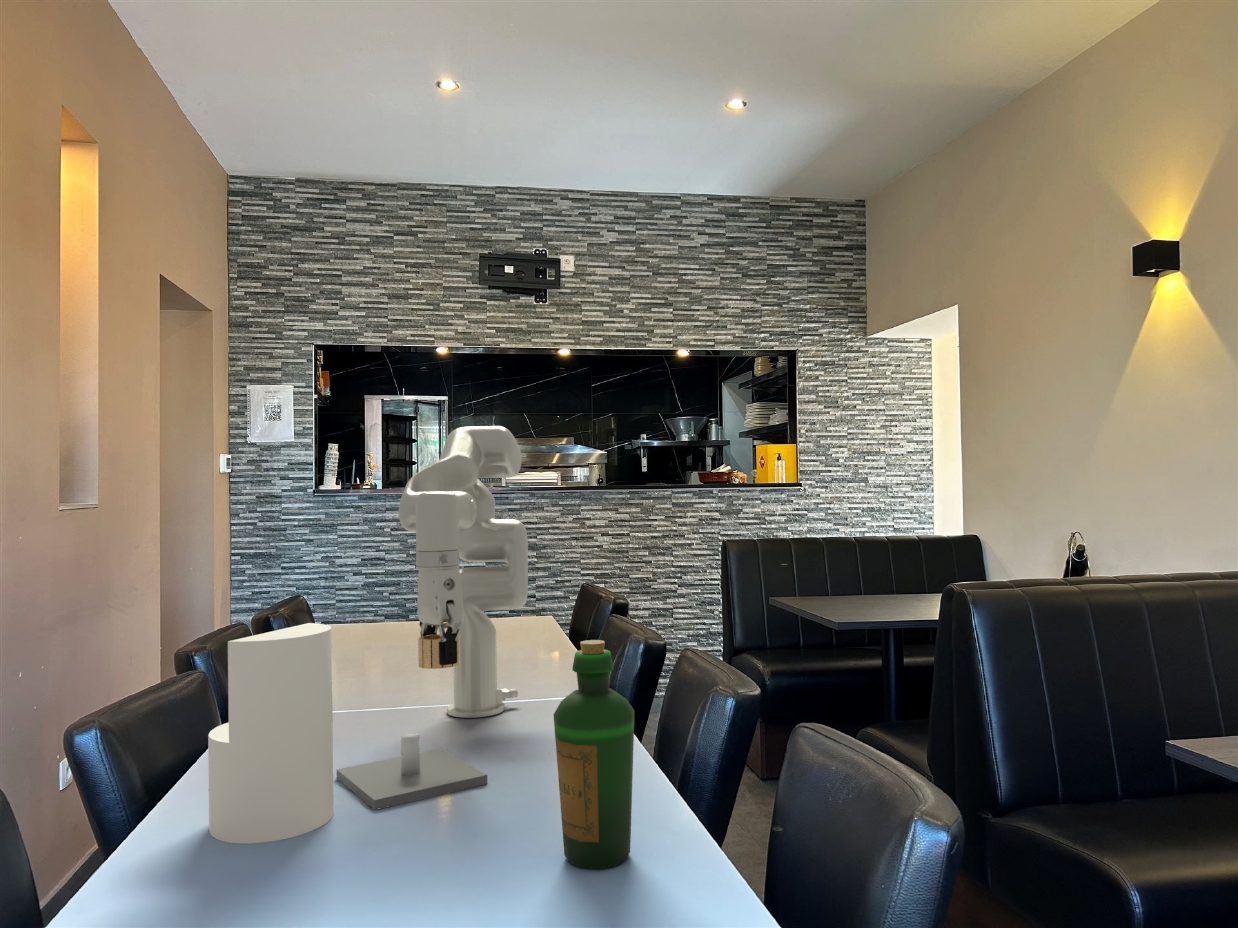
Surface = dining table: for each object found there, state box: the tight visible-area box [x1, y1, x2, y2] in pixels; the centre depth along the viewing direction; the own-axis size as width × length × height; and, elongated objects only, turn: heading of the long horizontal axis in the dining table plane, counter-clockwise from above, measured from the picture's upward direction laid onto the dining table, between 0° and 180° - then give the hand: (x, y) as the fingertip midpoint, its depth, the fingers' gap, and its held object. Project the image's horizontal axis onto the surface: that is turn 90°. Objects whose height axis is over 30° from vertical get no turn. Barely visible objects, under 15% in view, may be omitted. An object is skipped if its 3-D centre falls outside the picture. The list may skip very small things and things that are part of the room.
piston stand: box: [336, 733, 488, 811], centre depth 147 cm, size 19×19×8 cm
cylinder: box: [207, 622, 335, 845], centre depth 131 cm, size 17×17×28 cm
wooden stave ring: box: [417, 633, 460, 670], centre depth 156 cm, size 7×7×5 cm
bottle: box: [553, 639, 635, 870], centre depth 115 cm, size 11×11×28 cm
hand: (439, 660), depth 156 cm, fingers closed on wooden stave ring, 7 cm apart
